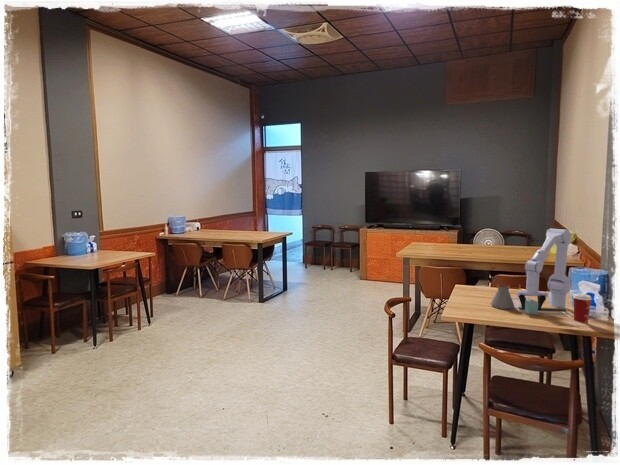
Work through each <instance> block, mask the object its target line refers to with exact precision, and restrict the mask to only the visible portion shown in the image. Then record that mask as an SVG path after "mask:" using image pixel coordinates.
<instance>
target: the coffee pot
mask: <svg viewBox="0 0 620 465" xmlns="http://www.w3.org/2000/svg"><path fill="white" fill-rule="evenodd" d="M491 279H492V280H493V282H494V283H495V285H496V287H497V290H496V292H495V294H494V296H493V298H492V300H491V303H490V304H491V306H492V307H493V308H495V309H498V310H513V309H514V307H515V303H514V301H513V299H512V295H511V294H510V291H509V290H510V288H511V286H510V285H505V284H499V283H498V280H496V278H495V276H491Z"/></svg>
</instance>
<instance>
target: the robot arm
mask: <svg viewBox="0 0 620 465" xmlns="http://www.w3.org/2000/svg"><path fill="white" fill-rule="evenodd" d="M545 236H546V238H545V241H544V242H543V244H542V245H541V248H540V249H537V250H536V252H535V253H534V255H533V256H532V257H531V258H530V260H527V261H526V262H525V265H524V270H525V275H526V286H525V290H520V291H517V290H516V296H517V297H518V299H519V301H520V304H521V306H520V307H522V309H523V310H525V301H526V299H527V297H537V302H538V310H541V308H543V307H542V306H543V304H544V303H545V302H546V299H547V303H548V304H549V306H551V307H552V308H565V309H566V311H569V309H568V308H567V307H566V303H567V302H566V301H567V294H568V293H570V291H571V288H572V286H571V279H570V278H569V277H568V276H566V270H567V259H568V258H567V257H568V248H569V245H570V244H571V238H572V233H571V232H570V230H569V229H561V228H552V227H551V228H548V230H547V231H546V233H545ZM554 245H556V252H555V262H554V271H553V272H554V273H553V274H552V275H550V276H549V278H548V281H547V288H548V290H549V293H548V292H547V291H539V290H540V287H539V286H540V273H541V272H542V271H543V269H544V263H545V261H546V260H547V258H548V256H549V254H548V252H549V251H550V250H551V249H552V248H553V247H554ZM526 296H527V297H526Z"/></svg>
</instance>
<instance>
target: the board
mask: <svg viewBox="0 0 620 465" xmlns="http://www.w3.org/2000/svg"><path fill="white" fill-rule="evenodd" d="M565 308H566V307H565ZM565 308H559V307H541V310H538V314H529V313H527V312H526V311H525V310H523V309H522V306H518V308H517V309H518V310H519V311H520V312H521V313H523V315H524V316H530V317H531V316H533V317H534V316H535V317H561V318H563V317H564V318H574V315H572V314H571V313H569V312H567V310H566V309H565Z"/></svg>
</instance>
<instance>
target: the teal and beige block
mask: <svg viewBox="0 0 620 465" xmlns="http://www.w3.org/2000/svg"><path fill="white" fill-rule="evenodd" d="M525 311H526V312H527V313H529V314H538V301H536V300H535V299H533V298H531V297H527V298H526V301H525Z"/></svg>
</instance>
